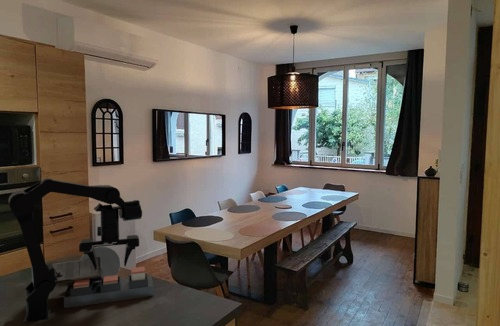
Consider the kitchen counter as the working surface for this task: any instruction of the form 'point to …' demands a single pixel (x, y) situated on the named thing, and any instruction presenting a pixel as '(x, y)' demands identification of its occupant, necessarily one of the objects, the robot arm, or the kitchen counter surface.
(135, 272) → the button
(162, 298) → the kitchen counter surface
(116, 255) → the chinaware
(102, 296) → the gray slotted rack
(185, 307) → the kitchen counter surface
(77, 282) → the button
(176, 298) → the kitchen counter surface
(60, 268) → the coffee box
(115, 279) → the button
